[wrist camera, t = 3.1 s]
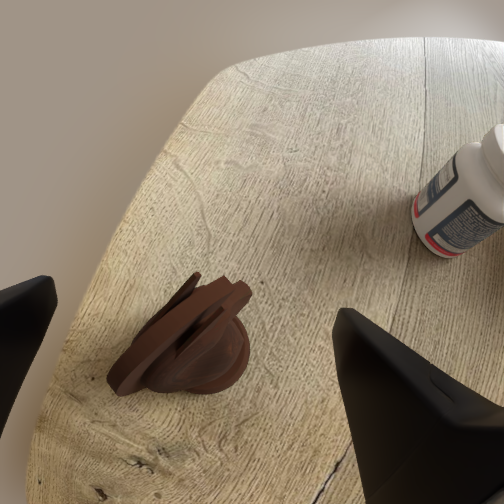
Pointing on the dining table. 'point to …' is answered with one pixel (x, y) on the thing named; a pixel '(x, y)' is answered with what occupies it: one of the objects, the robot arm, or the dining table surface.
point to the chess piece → (188, 343)
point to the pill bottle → (463, 198)
